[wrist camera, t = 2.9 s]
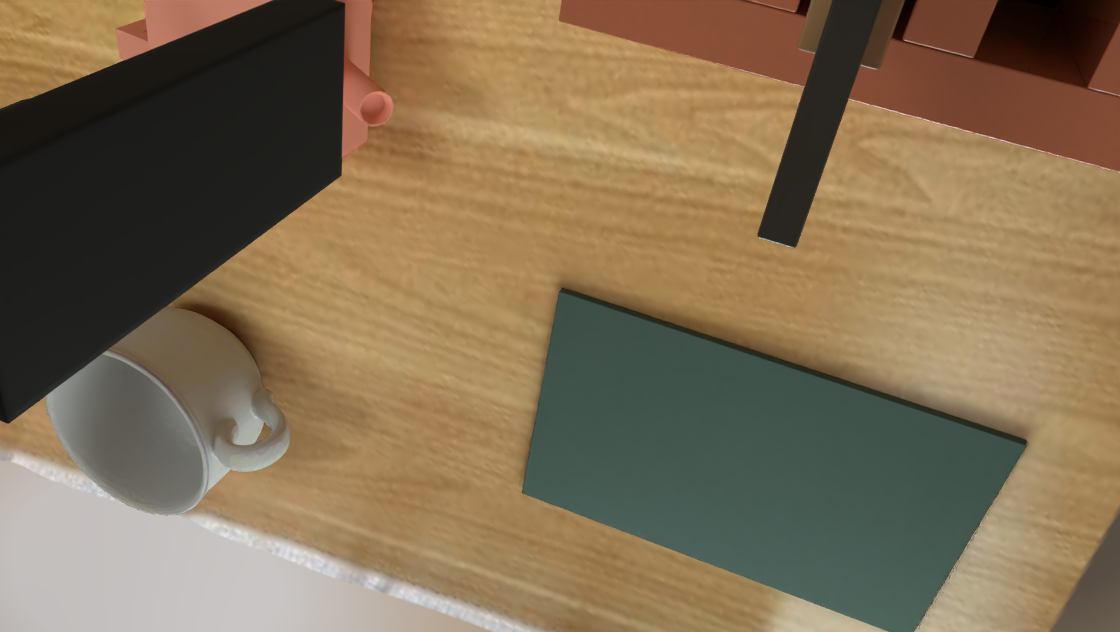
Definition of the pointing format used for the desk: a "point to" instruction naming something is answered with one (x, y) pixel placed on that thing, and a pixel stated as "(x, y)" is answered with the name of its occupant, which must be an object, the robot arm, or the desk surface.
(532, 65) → the desk surface
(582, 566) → the desk surface
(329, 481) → the desk surface
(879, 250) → the desk surface
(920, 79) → the holder
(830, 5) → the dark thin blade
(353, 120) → the pink cube teapot
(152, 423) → the teacup
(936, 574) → the mat
